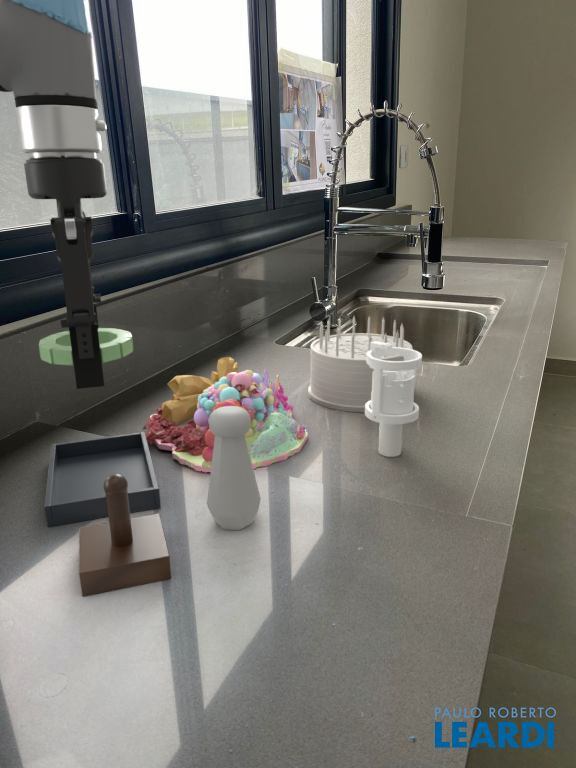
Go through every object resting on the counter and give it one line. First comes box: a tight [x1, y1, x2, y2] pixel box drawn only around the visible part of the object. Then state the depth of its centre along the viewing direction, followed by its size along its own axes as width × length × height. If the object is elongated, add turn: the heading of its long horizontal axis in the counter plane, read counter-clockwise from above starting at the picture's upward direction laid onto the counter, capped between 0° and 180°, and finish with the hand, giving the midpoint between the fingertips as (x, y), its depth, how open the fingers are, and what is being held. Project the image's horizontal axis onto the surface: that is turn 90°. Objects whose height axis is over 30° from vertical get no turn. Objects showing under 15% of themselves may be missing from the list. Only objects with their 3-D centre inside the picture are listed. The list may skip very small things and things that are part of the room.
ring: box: [38, 327, 135, 367], centre depth 66 cm, size 10×10×2 cm
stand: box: [78, 474, 172, 597], centre depth 58 cm, size 8×8×10 cm
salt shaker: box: [206, 406, 262, 531], centre depth 64 cm, size 6×6×13 cm
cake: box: [307, 315, 414, 413], centre depth 103 cm, size 18×18×13 cm
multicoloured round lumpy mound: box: [141, 356, 309, 473], centre depth 88 cm, size 25×24×9 cm
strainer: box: [364, 341, 423, 458], centre depth 80 cm, size 7×7×15 cm
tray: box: [43, 431, 162, 528], centre depth 75 cm, size 12×17×2 cm
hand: (90, 372), depth 67 cm, fingers closed on ring, 10 cm apart
